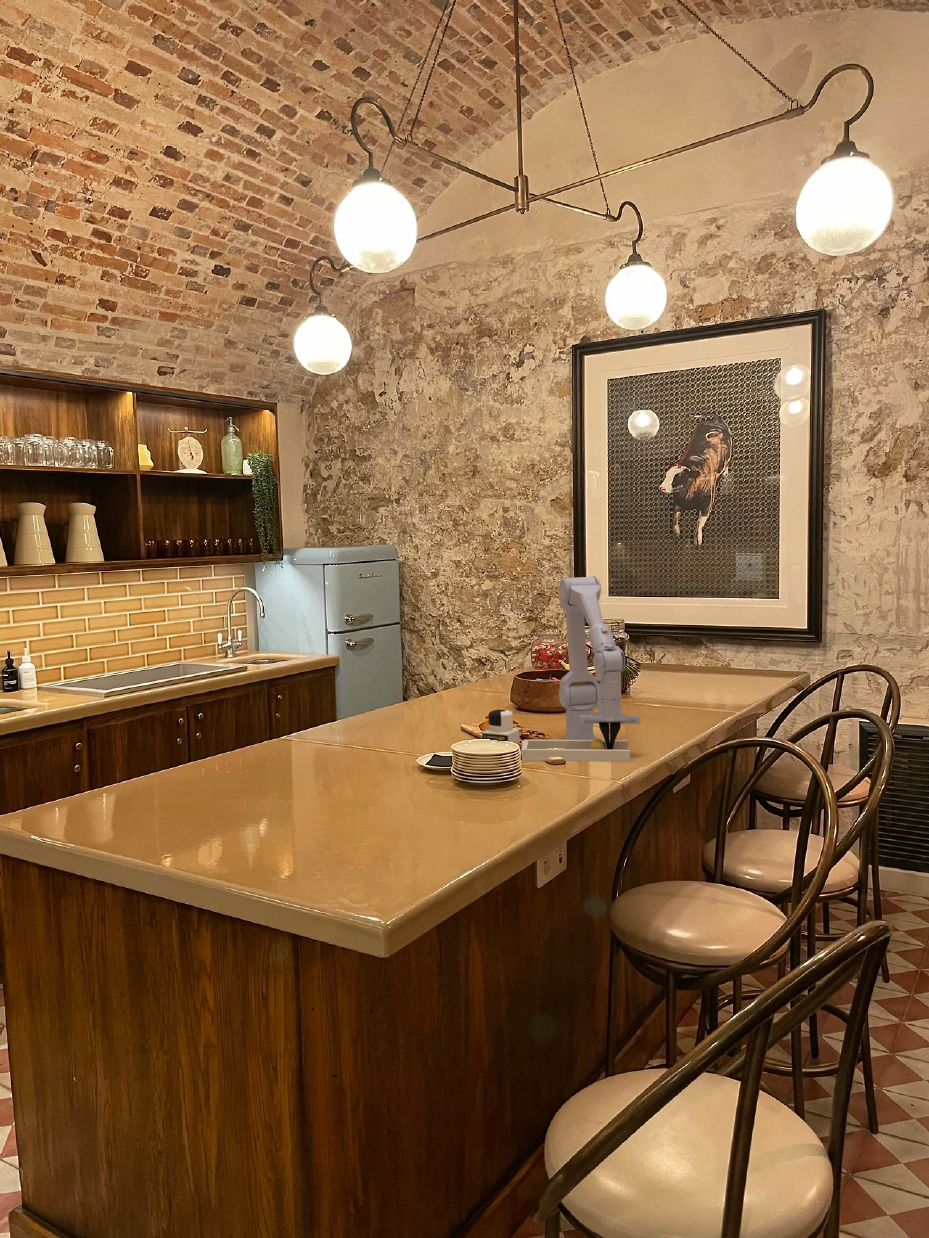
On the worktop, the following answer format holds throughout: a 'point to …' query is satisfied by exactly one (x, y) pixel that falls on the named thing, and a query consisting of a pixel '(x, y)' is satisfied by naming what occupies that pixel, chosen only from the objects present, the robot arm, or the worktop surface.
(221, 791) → the worktop surface
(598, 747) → the ball
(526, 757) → the lane
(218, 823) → the worktop surface
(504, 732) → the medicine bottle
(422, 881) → the worktop surface
